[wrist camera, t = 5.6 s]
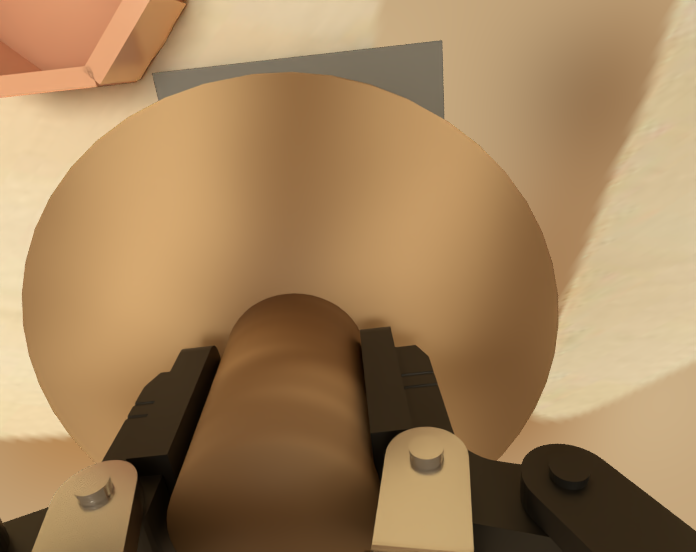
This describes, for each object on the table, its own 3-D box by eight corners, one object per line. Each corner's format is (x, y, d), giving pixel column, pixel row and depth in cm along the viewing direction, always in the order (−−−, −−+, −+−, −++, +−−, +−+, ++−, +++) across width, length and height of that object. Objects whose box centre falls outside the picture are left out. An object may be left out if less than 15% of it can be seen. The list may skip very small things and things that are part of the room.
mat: (439, 40, 25) (442, 40, 24) (446, 297, 30) (449, 301, 30) (155, 72, 25) (152, 73, 24) (215, 322, 30) (213, 327, 30)
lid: (554, 36, 11) (789, 14, 5) (534, 489, 16) (641, 717, 10) (-44, 111, 11) (-419, 165, 5) (128, 533, 16) (23, 779, 11)
